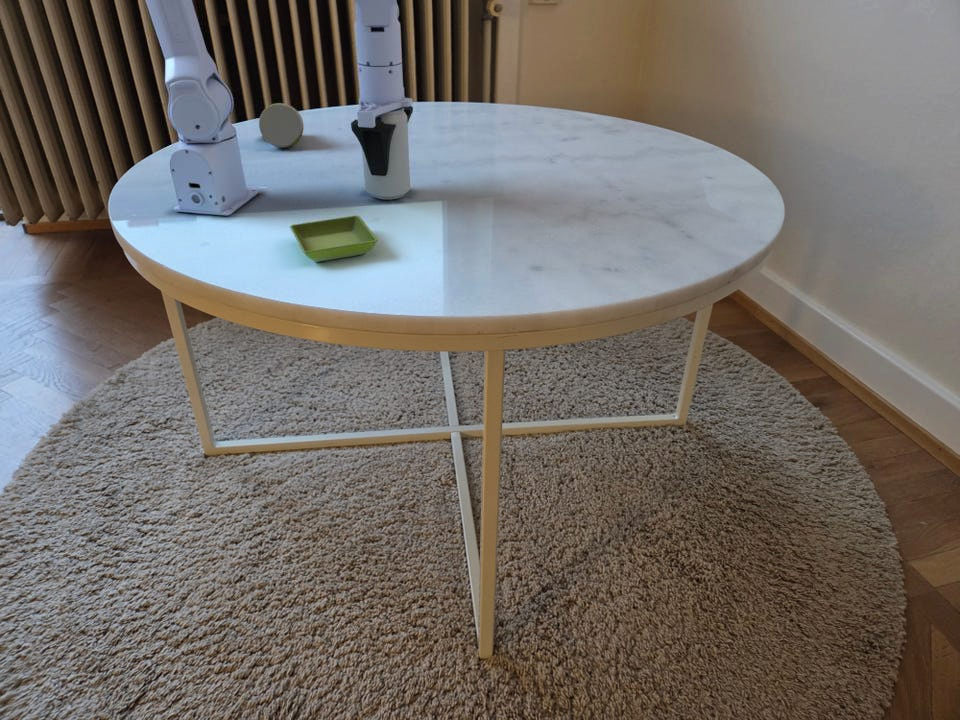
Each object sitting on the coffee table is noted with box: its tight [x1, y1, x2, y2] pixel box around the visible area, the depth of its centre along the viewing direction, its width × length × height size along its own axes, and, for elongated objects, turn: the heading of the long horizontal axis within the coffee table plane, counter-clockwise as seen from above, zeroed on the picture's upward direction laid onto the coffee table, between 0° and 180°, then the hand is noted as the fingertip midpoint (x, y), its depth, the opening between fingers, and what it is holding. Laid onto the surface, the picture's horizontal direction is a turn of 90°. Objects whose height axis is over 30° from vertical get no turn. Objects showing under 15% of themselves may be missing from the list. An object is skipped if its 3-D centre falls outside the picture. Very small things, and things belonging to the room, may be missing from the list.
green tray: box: [289, 215, 378, 263], centre depth 81 cm, size 9×9×2 cm
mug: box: [258, 102, 304, 149], centre depth 115 cm, size 8×10×10 cm
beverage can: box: [361, 107, 411, 200], centre depth 93 cm, size 6×6×12 cm
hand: (386, 167), depth 94 cm, fingers closed on beverage can, 6 cm apart
